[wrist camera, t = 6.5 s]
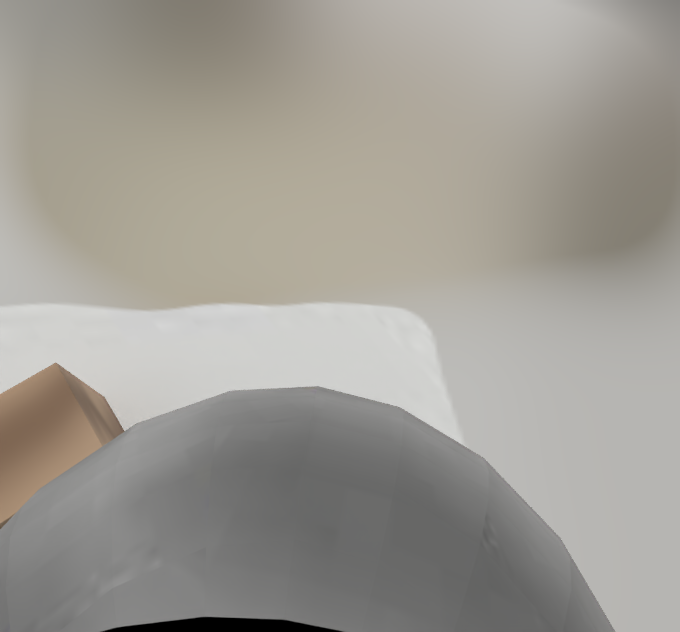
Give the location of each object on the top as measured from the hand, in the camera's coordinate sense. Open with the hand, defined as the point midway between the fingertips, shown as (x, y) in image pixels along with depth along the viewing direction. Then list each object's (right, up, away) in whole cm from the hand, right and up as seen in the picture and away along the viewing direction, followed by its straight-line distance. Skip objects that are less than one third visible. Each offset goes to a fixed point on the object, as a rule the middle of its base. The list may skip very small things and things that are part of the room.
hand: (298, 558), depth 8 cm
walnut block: (-13, -3, +13) cm, 18 cm away
